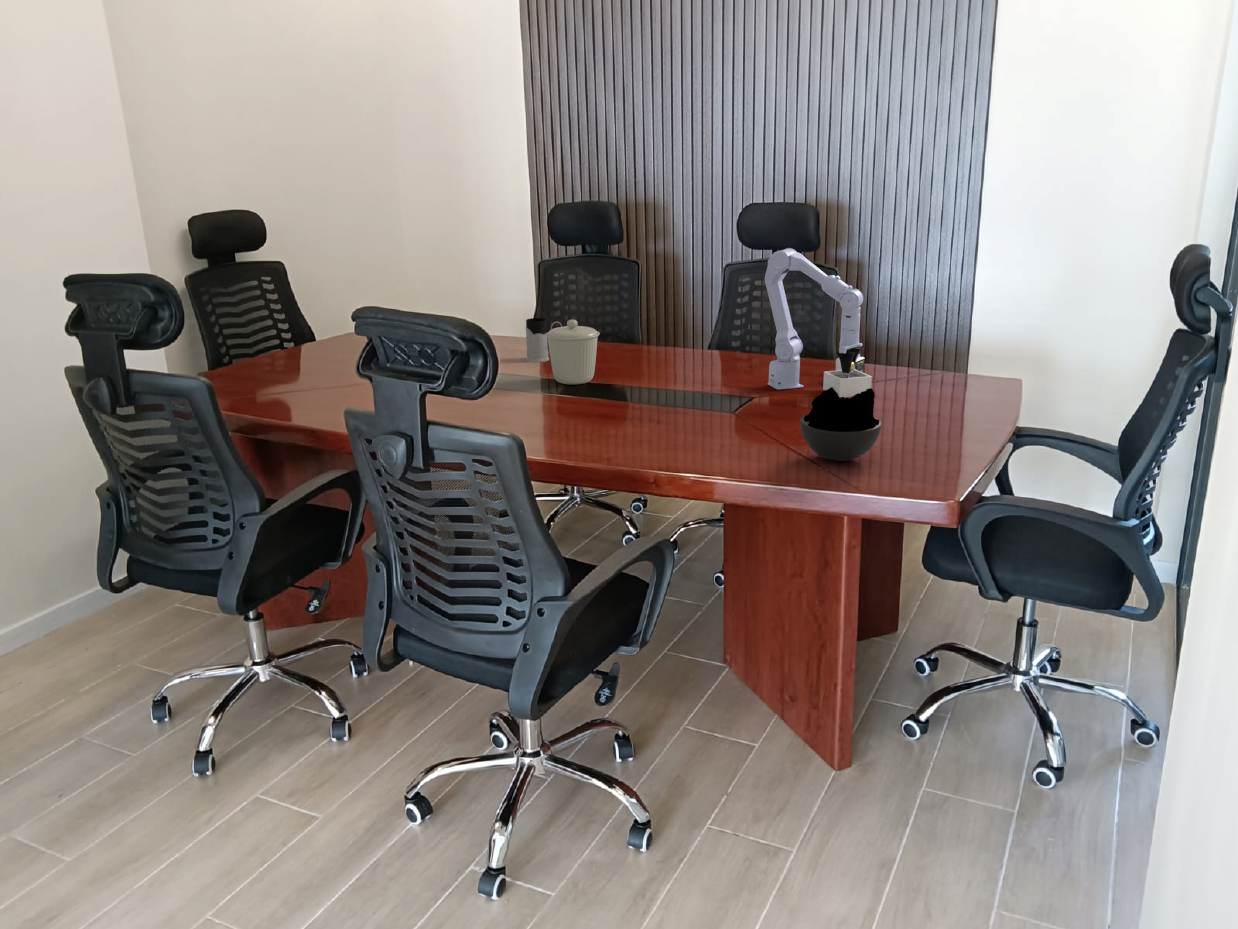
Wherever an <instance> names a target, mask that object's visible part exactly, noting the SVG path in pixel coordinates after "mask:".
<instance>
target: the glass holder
mask: <svg viewBox="0 0 1238 929" xmlns="http://www.w3.org/2000/svg"><path fill="white" fill-rule="evenodd" d="M556 323H557V324H559V325H560V327H563V324H562V323H561V322H559V321H554V322H553V323H551V325H550V330H552V329H553V325H555V324H556ZM525 325H526V326H525V339H526V358H525V361H527V362H530V363H545V362H548V361H550V356H549V355H550V351H549V345H548V338H547V337H546V335H545V334H546V333H547V330H548V329H547V326H548V325H547V318H542V317H533V318H526V319H525Z"/></svg>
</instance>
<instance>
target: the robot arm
mask: <svg viewBox="0 0 1238 929" xmlns="http://www.w3.org/2000/svg"><path fill="white" fill-rule="evenodd" d="M789 271H794V272H795V271H799V272H802V273H803V274H805V275H806V276H807V277H808V278H811V279H812V280H813V281H815V282H817V283H818V284H819V285H820V286H821V290H822V292H824V293H826V294H827V295H828V296H830V297H831V298H833V299H834V300H835V301H837V303H838V302H839V305H840V307H841V320H840V323H841V324H840V337H839V338H840V341H839V348H838V349H837V350H836V354H837V355H836V356H838V358H839V359H840V363H841V368H842V373H849V372H850V369H851V363H852V362H854V366H855V363H856V359H857V356H858V354H859V352H860V353H861V351H862V347H863V343H862V342H860V329H861V328H860V326H861V309H862V308H861V305H862V304H863V302H864V295H863V293H862V292H861V291H860V289H858V288H853V287H854V286H852V285H851V284H850V285H849V284H847V283H845V282H844V281H843V280H842V279H841V277H840V276H839V275H836V276H835V275H834V274H831V275H828V274H826V273H825V272H824V271H822V270H821V269H820V268H819V267H817V265H815V264H814V263H813V262H811V261H810V260H809V259H807V258H806V257H805V256H804V255H803V254H802V253H800V252H797V251H796V250H795V249H793V248H791V247H787V248H784V249H781V250H777V251H775V252H773V253H772V254H771V256H770V257H769V258H768V259H767V267H766V271H765V276H764V283H765V287H766V292H767V295H768V299H769V305H770V308H771V312H772V317H773V320H774V325H775V328H776V336H775V349H774V351H775V355H776V357H777V358H776V359H775V360H771V361H770V363H769V365H768V368H769V369H768V382H767V385H768V386H769V387H772V388H773V389H776V390H788V389H789V390H791V389H798V388H800V389H801V388H804V385H803V384H800V366H801V362H800V361H801V357H800V354H801V353H802V352H803V349H804V343H803V342H802V340H801V338H800V337H799V336H798V332H797V330H796V329H795V328H794V327H793V326H794V325H793V321H792V317H791V313H790V309H789V304H788V301H787V300H788V299H787V296H786V292H785V288H784V284H783V280H784V278H785V277H786V275H787V274H788V273H789ZM858 346H861V347H860V348H859V347H858Z"/></svg>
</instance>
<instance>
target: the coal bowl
mask: <svg viewBox="0 0 1238 929" xmlns="http://www.w3.org/2000/svg"><path fill="white" fill-rule="evenodd" d="M875 397H876V394H875V391H874V389H873V388H872V387H871V388H870V389H867V390H866V391H863V392H861V393H860V394H859V393H857V394H855V395H854V396H853V397H844V398H840V397H839V395H838V393H837V392H836V391H835V390H834V389H833V387H831V388H829V389H827V390H825V391H824V390H823V391H822V392H821V393H820V394H819V395H817V396H816V397H814V398H813V400H812V402H811V406H812V407H811V409H810V410H809V412H808V414H805V415H804V416H802V417H800V420H799V425H800V432H801V434H802V437H803V439H804V441H805V443H806V444H807V445H808V447H809V448H810V449H811V450H812V451H813V452H814V453H815V454H817V455H819V456H820V457H822V458H823V459H826V460H830V461H833V460H834V462H847V461H852V460H855V459H858V458H859V457H861V456H863V455H865V454H866V453H867V452H869V450H870V449H871V448H873V446H874V445H875V443H876V442H877V440H878V438H879V435H880V434H881V430H882V421H881V420H880V419H878V418H877V417H874V406H875Z"/></svg>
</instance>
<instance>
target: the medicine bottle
mask: <svg viewBox="0 0 1238 929" xmlns="http://www.w3.org/2000/svg"><path fill="white" fill-rule="evenodd" d="M858 347H859V348H862V346H858ZM865 361H866V360H865V357H864V356H861V351H860V352H859V354H858V356H857V359H856V363H855V366H854V369H856V370H858V371H860V372H863V373H865ZM839 370H842V368H841V363H840V359H839V357H838V358H836V360H835V371H839Z"/></svg>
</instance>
